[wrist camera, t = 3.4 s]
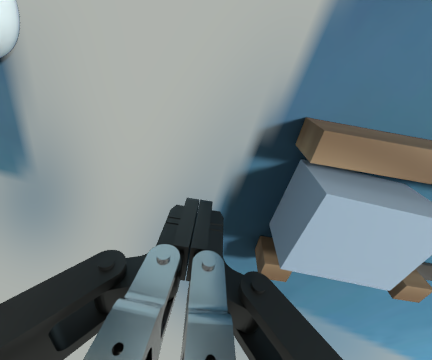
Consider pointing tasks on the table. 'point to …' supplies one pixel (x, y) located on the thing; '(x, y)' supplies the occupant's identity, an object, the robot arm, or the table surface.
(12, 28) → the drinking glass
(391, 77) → the table surface
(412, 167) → the lane
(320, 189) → the brick
